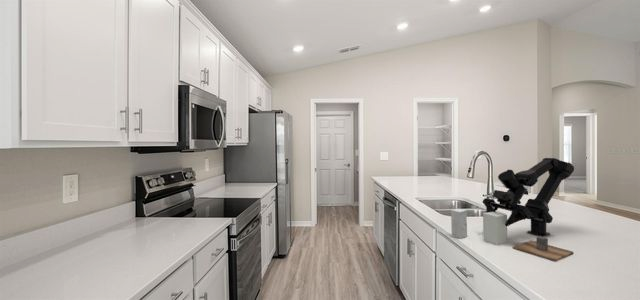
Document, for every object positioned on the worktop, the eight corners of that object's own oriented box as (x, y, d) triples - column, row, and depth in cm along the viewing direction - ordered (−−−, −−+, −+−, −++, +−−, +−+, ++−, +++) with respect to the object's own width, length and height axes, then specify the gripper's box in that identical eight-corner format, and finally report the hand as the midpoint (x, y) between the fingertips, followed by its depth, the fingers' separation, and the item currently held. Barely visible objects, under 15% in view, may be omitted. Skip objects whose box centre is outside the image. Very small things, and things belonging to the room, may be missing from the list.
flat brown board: (531, 242, 115) (531, 229, 114) (573, 253, 102) (573, 240, 102) (512, 248, 108) (512, 235, 108) (555, 261, 96) (555, 247, 96)
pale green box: (493, 238, 120) (493, 211, 120) (507, 242, 114) (507, 214, 114) (483, 240, 118) (483, 213, 118) (496, 244, 112) (496, 216, 112)
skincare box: (460, 238, 120) (460, 212, 120) (450, 236, 124) (450, 210, 124) (467, 236, 124) (467, 210, 123) (458, 233, 127) (457, 208, 127)
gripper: (485, 181, 127) (467, 206, 123) (526, 186, 109) (507, 216, 105) (497, 196, 129) (480, 221, 126) (539, 204, 112) (521, 233, 108)
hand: (495, 222), depth 116 cm, fingers open, 9 cm apart
